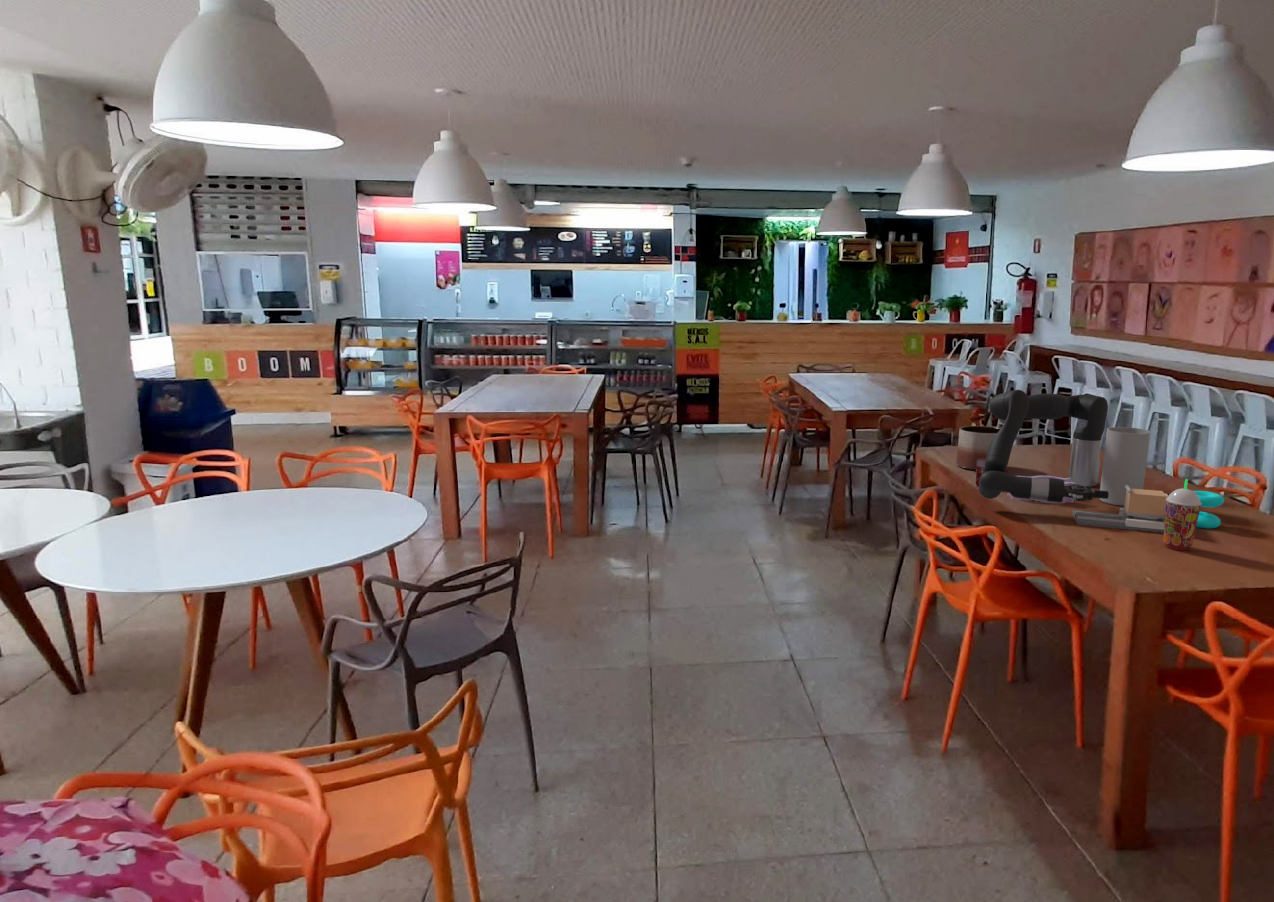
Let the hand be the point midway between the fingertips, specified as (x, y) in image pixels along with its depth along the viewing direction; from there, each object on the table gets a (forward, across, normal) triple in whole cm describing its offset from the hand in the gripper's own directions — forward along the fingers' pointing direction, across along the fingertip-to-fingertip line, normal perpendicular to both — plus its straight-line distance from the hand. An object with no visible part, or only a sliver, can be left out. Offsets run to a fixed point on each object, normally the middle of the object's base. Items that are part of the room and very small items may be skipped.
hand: (1108, 495), depth 251 cm
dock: (+4, 0, +9) cm, 10 cm away
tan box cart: (+10, 0, +7) cm, 12 cm away
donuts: (+27, +7, +9) cm, 29 cm away
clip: (-17, +23, +9) cm, 30 cm away
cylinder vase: (+8, +28, +9) cm, 30 cm away
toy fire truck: (-32, +33, +9) cm, 47 cm away
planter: (-36, +67, +9) cm, 77 cm away
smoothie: (+15, -21, +9) cm, 28 cm away
